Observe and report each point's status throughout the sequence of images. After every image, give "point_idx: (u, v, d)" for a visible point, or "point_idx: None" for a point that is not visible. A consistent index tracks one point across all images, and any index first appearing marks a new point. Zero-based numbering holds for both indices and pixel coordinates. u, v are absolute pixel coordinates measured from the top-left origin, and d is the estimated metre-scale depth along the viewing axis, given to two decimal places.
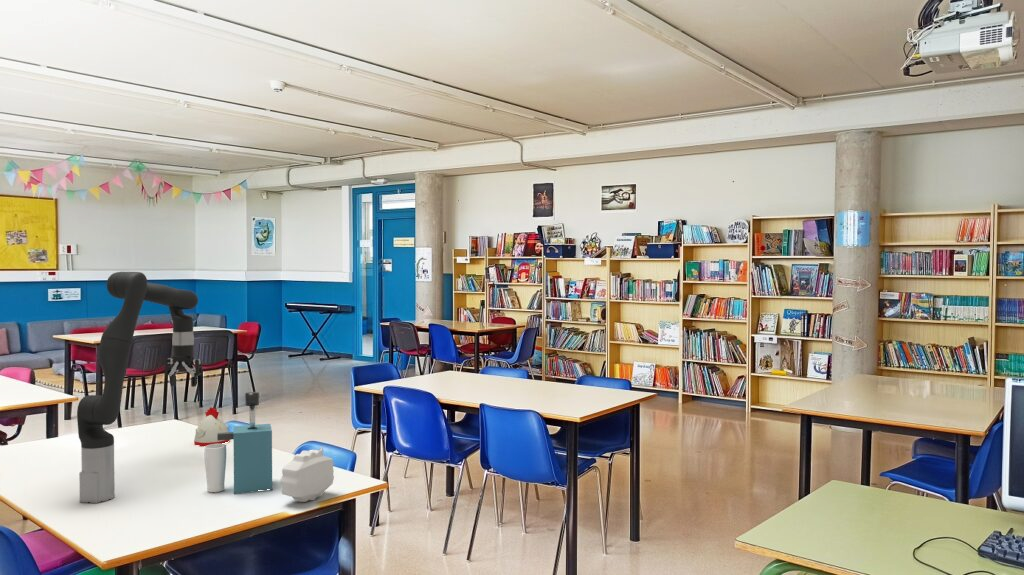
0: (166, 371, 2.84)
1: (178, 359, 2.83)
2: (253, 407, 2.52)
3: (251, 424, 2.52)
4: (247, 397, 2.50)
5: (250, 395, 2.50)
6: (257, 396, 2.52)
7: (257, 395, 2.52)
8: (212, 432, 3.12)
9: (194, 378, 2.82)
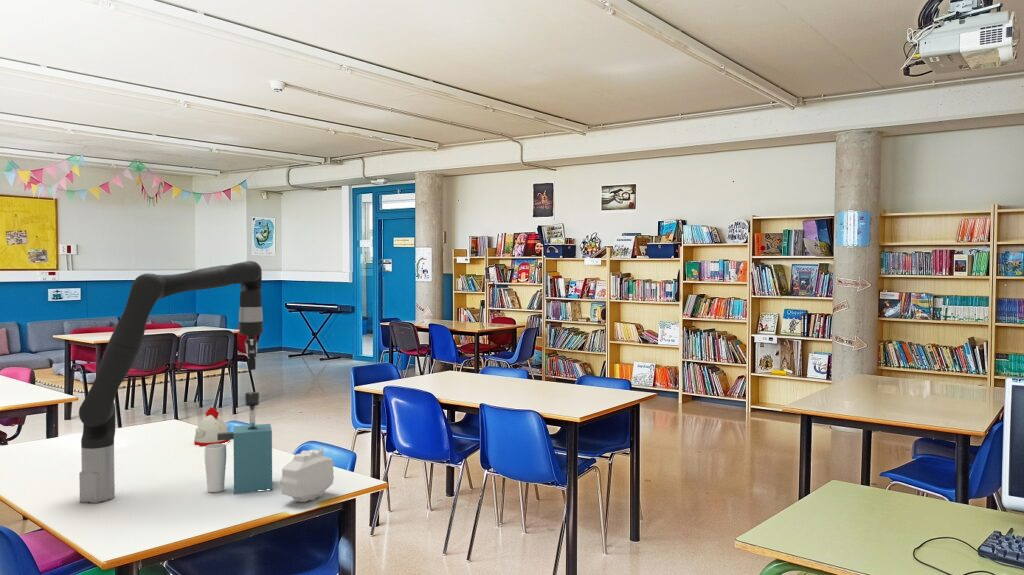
0: (255, 353, 2.47)
1: None
2: (253, 407, 2.52)
3: (251, 424, 2.52)
4: (247, 397, 2.50)
5: (250, 395, 2.50)
6: (257, 396, 2.52)
7: (257, 395, 2.52)
8: (212, 432, 3.12)
9: None
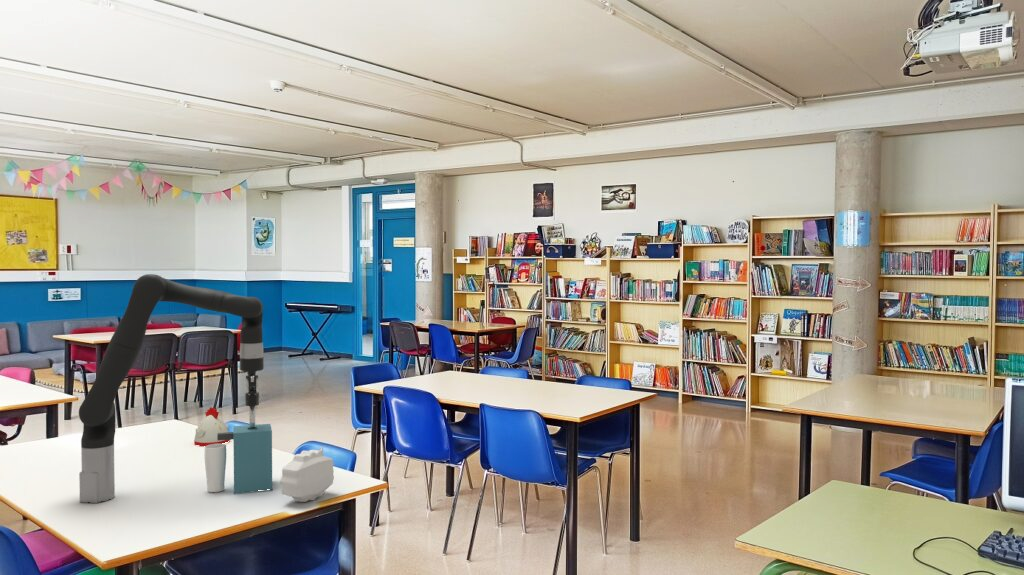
0: None
1: None
2: (253, 407, 2.52)
3: (251, 424, 2.52)
4: (247, 397, 2.50)
5: None
6: (257, 396, 2.52)
7: (257, 395, 2.52)
8: (212, 432, 3.12)
9: None
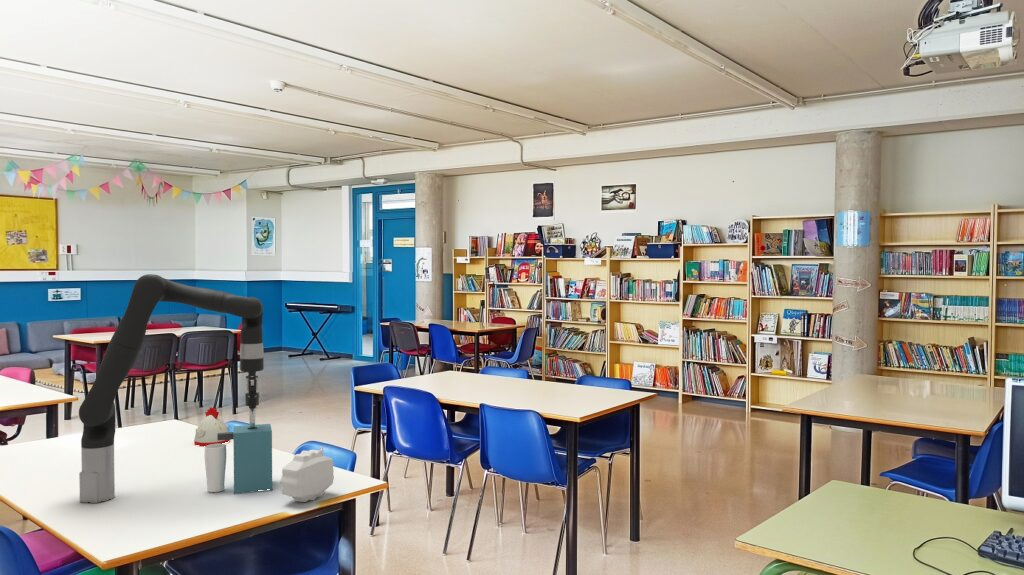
0: None
1: None
2: None
3: (251, 424, 2.52)
4: (247, 397, 2.50)
5: None
6: (257, 396, 2.52)
7: (257, 395, 2.52)
8: (212, 432, 3.12)
9: None
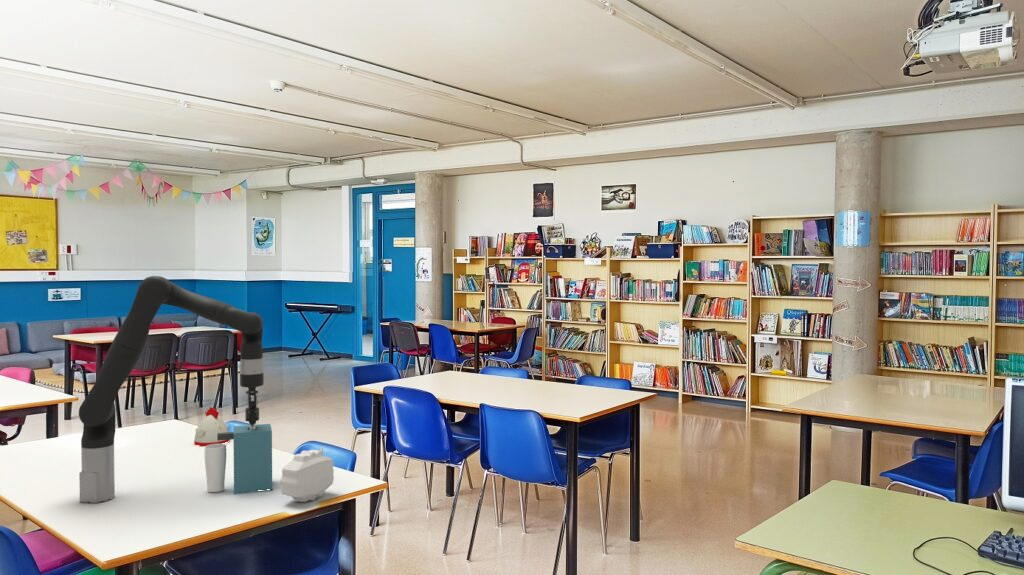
0: None
1: None
2: None
3: None
4: (247, 412, 2.51)
5: None
6: (257, 411, 2.52)
7: (257, 410, 2.52)
8: (212, 432, 3.12)
9: None
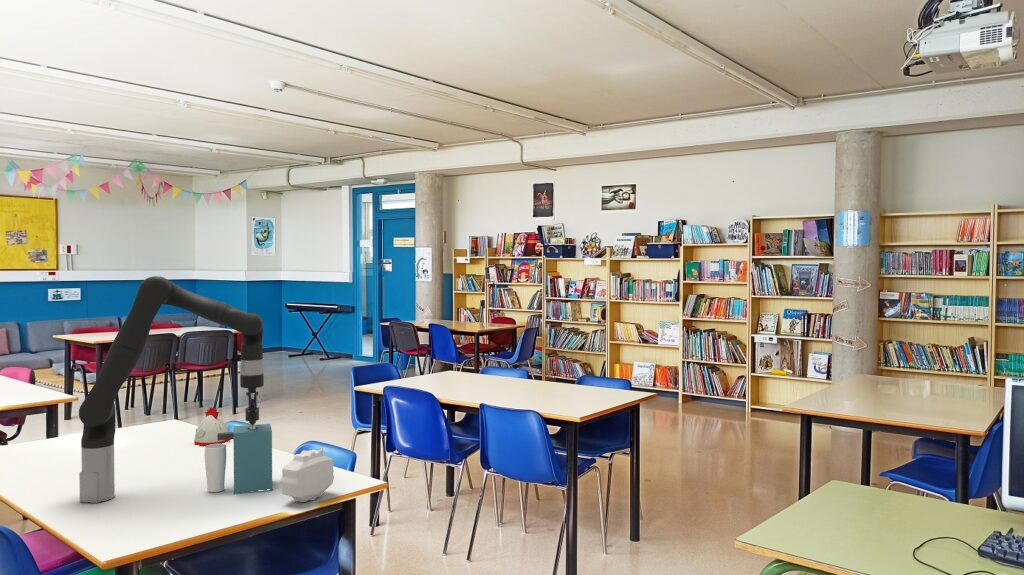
0: (256, 407, 2.47)
1: None
2: None
3: None
4: (247, 412, 2.51)
5: None
6: (257, 411, 2.52)
7: (257, 410, 2.52)
8: (212, 432, 3.12)
9: None
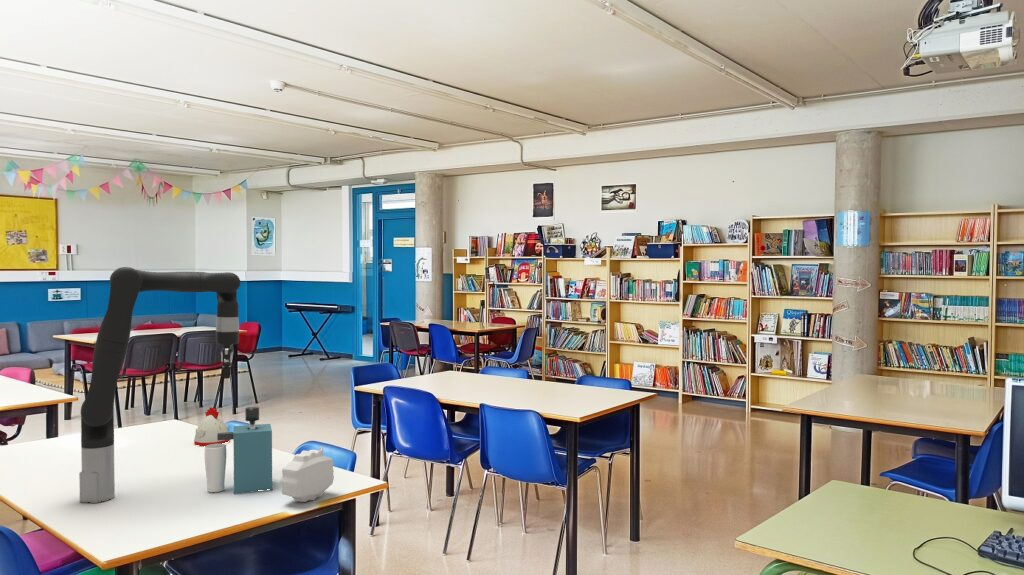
0: (230, 362, 2.53)
1: (230, 347, 2.58)
2: (253, 422, 2.52)
3: None
4: (247, 412, 2.51)
5: (250, 410, 2.50)
6: (257, 411, 2.52)
7: (257, 410, 2.52)
8: (212, 432, 3.12)
9: None
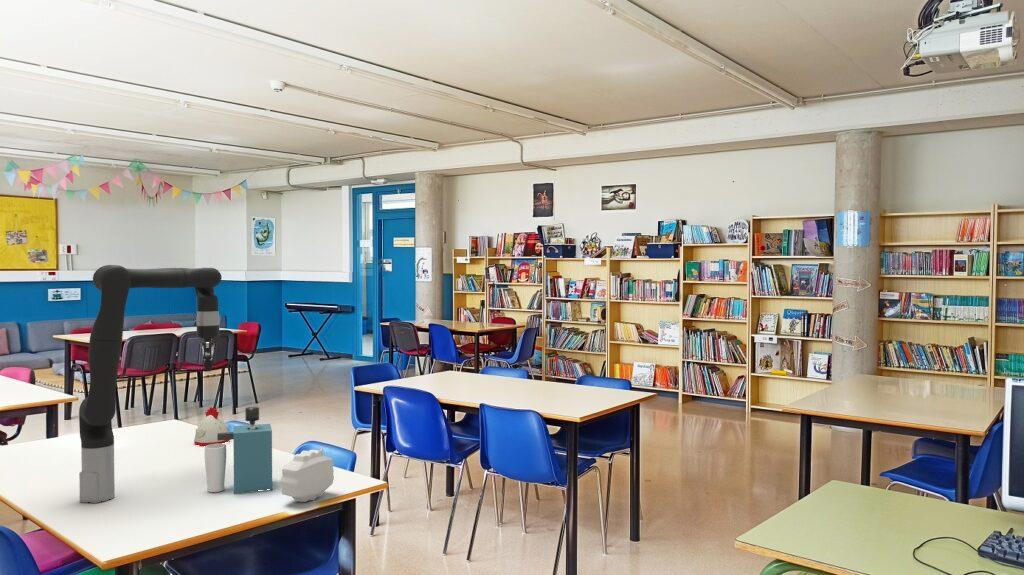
0: (211, 355, 2.59)
1: (211, 341, 2.64)
2: (253, 422, 2.52)
3: None
4: (247, 412, 2.51)
5: (250, 410, 2.50)
6: (257, 411, 2.52)
7: (257, 410, 2.52)
8: (212, 432, 3.12)
9: None
